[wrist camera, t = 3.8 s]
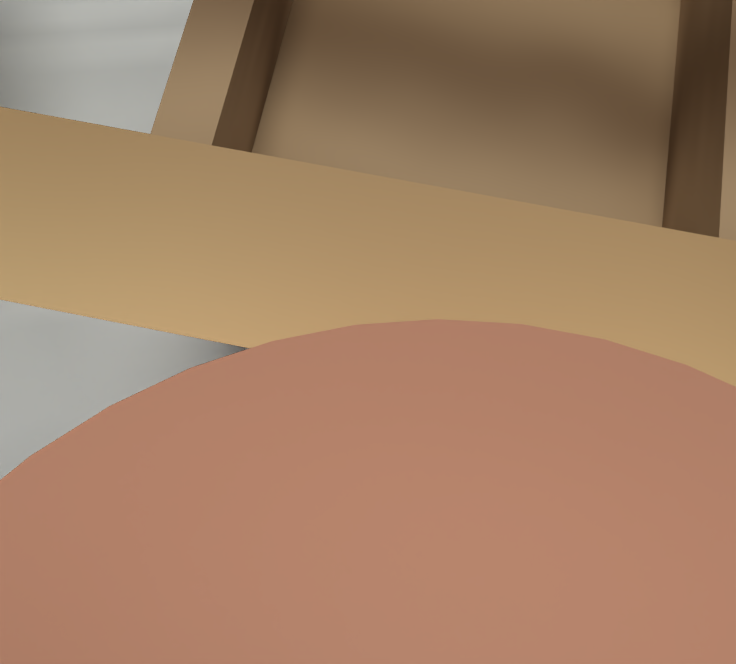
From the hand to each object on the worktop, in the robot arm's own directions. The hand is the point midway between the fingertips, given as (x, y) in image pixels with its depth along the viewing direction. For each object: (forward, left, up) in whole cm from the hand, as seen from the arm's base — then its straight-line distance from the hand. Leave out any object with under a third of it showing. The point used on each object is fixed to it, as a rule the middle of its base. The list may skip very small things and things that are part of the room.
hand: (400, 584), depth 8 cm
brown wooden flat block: (+4, -2, -7) cm, 8 cm away
